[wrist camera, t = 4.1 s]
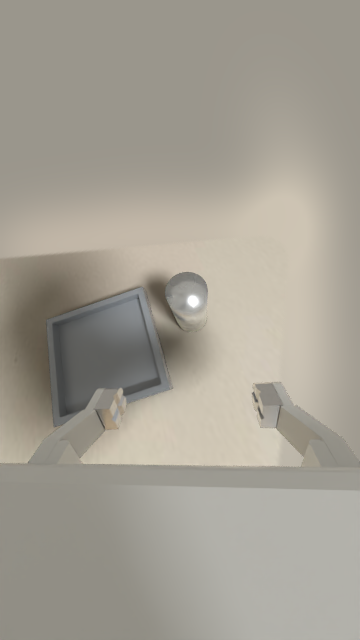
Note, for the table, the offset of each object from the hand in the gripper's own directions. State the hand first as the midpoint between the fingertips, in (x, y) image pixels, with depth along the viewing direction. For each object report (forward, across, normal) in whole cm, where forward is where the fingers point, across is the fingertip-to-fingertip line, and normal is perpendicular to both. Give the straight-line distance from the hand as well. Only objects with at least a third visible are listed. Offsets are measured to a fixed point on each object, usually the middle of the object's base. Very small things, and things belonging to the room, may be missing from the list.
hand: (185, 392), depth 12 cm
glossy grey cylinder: (+14, 0, +2) cm, 14 cm away
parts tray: (+11, +11, +5) cm, 17 cm away
